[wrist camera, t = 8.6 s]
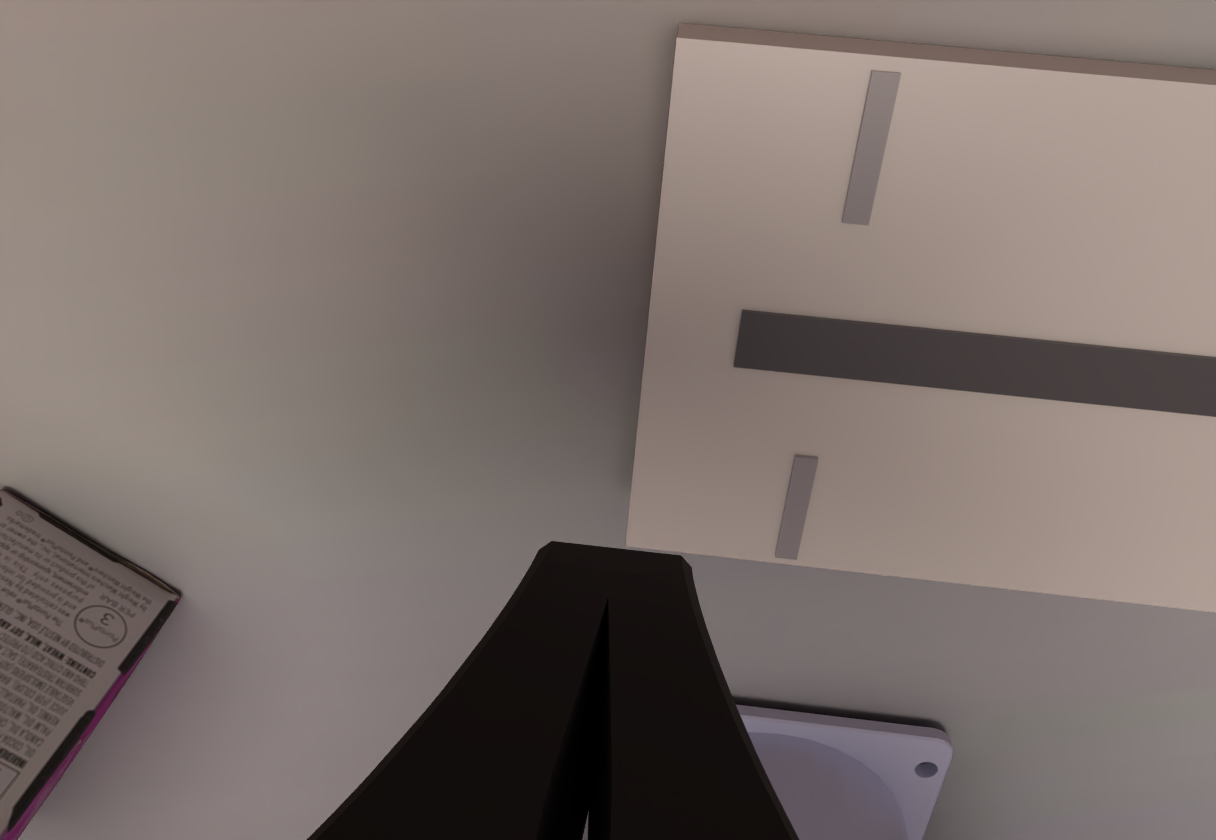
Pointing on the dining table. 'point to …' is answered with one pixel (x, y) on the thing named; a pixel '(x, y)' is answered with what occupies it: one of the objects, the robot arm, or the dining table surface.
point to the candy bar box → (61, 648)
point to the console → (934, 317)
